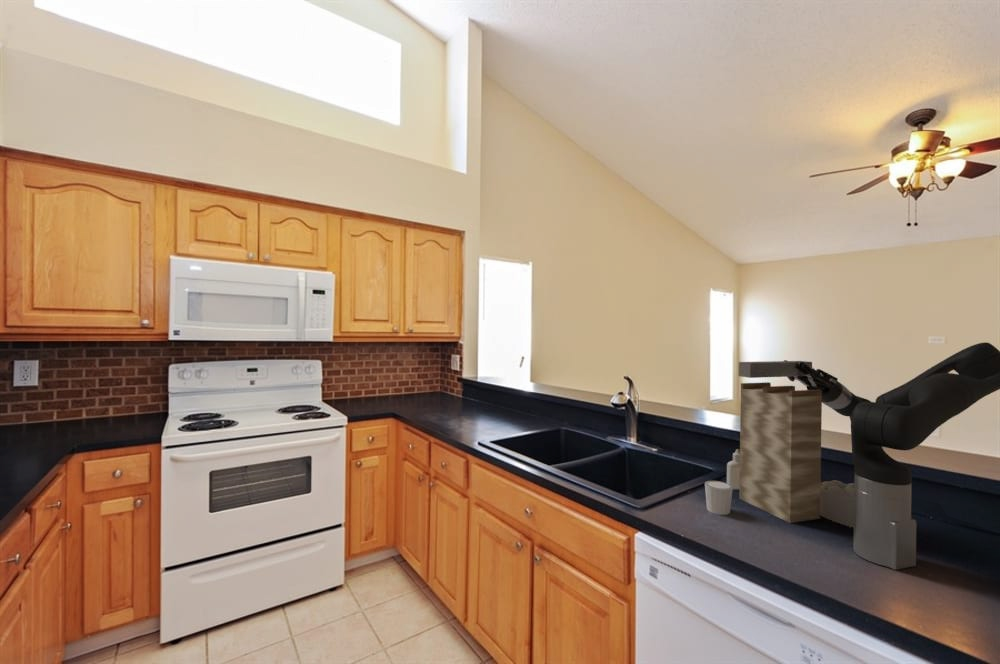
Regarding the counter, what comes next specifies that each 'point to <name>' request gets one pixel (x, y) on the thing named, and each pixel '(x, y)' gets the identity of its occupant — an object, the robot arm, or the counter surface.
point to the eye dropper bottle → (734, 471)
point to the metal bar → (771, 369)
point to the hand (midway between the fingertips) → (791, 363)
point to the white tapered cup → (718, 497)
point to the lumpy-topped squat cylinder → (837, 502)
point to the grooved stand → (781, 450)
